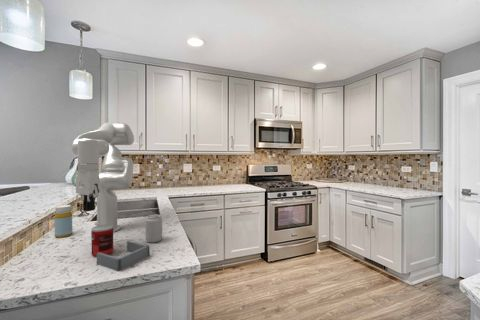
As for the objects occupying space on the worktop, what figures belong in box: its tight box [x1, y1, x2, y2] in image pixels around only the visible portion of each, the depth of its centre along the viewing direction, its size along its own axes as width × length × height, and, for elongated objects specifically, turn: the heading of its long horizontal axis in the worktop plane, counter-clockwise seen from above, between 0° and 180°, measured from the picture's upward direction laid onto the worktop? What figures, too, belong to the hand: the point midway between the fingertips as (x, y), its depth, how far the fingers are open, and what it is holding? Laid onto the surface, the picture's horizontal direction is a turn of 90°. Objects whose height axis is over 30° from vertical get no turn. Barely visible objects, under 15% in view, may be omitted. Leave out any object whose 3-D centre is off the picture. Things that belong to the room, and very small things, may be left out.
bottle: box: [54, 204, 73, 239], centre depth 116 cm, size 7×7×15 cm
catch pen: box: [96, 240, 151, 272], centre depth 90 cm, size 12×14×4 cm
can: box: [144, 213, 163, 244], centre depth 110 cm, size 8×8×12 cm
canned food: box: [90, 225, 114, 258], centre depth 95 cm, size 8×8×11 cm
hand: (88, 210), depth 99 cm, fingers closed
